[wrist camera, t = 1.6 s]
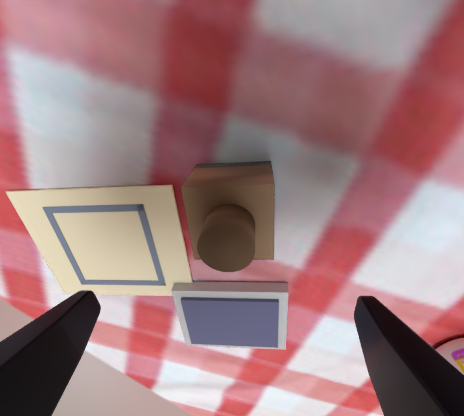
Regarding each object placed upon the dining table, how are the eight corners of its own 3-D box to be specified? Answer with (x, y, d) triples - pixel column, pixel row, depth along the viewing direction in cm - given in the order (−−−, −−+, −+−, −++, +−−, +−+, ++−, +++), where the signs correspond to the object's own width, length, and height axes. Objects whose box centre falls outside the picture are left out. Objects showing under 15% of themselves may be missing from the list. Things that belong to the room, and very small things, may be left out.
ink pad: (287, 282, 19) (288, 295, 17) (284, 338, 22) (286, 352, 21) (175, 281, 20) (169, 293, 18) (188, 335, 23) (185, 348, 22)
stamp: (270, 160, 14) (277, 204, 9) (270, 224, 16) (276, 287, 11) (197, 164, 15) (167, 206, 10) (206, 225, 17) (185, 286, 12)
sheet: (172, 184, 15) (171, 186, 15) (195, 294, 20) (194, 296, 20) (8, 190, 17) (4, 192, 17) (65, 292, 22) (63, 294, 21)
